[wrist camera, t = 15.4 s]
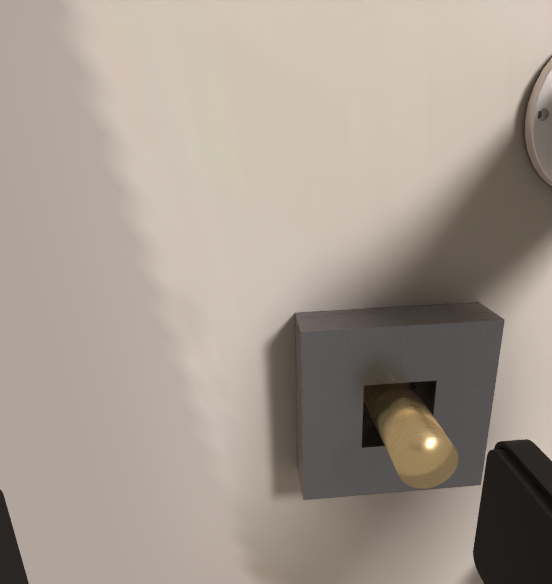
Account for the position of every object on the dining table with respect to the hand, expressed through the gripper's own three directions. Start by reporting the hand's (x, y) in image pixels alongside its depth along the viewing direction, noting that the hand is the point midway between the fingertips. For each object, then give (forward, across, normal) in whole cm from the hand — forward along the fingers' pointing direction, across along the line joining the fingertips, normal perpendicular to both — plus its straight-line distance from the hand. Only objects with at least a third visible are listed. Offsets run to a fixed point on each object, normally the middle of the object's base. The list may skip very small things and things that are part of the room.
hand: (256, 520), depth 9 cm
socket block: (+28, -12, +15) cm, 34 cm away
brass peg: (+28, -12, +15) cm, 34 cm away
